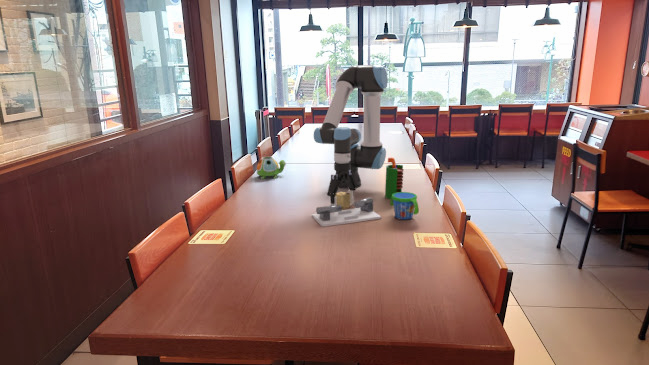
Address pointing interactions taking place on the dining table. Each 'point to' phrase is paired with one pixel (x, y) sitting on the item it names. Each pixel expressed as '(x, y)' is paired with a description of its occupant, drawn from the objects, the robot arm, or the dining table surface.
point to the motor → (393, 178)
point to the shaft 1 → (328, 211)
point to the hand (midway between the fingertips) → (342, 206)
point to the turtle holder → (269, 167)
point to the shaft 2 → (365, 204)
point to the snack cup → (404, 204)
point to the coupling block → (343, 200)
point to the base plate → (347, 217)
